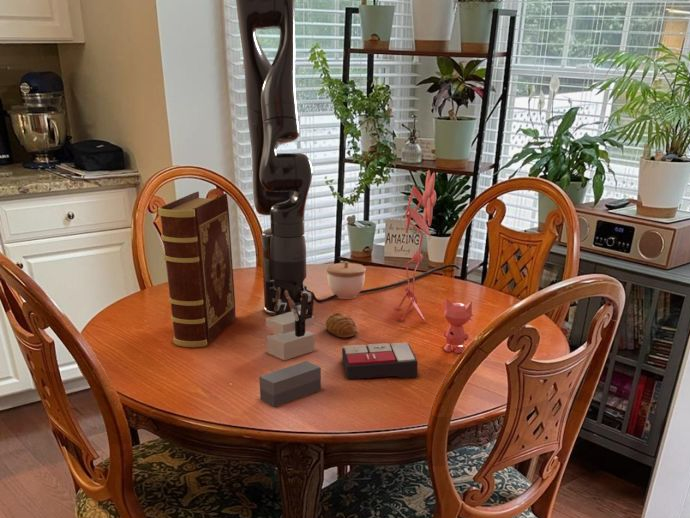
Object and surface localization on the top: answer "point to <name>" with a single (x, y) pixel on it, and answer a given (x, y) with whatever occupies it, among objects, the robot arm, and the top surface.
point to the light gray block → (290, 344)
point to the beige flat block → (285, 322)
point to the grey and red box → (379, 361)
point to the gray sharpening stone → (290, 383)
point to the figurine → (428, 203)
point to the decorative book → (198, 267)
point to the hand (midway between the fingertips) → (290, 331)
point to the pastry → (341, 325)
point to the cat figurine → (456, 324)
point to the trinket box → (346, 279)
